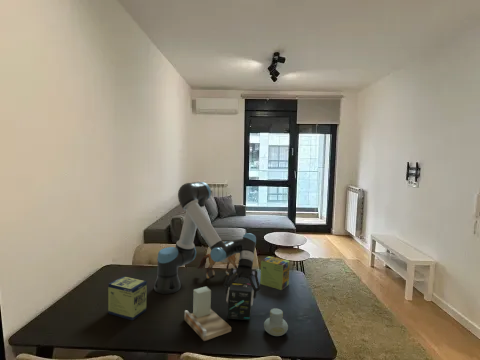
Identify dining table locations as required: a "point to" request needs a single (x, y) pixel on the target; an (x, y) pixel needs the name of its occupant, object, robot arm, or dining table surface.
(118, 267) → the dining table surface
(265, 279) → the protein box
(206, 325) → the pale wooden board
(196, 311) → the sage carton
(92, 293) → the dining table surface
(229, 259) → the horse figurine
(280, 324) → the air freshener
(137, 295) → the protein box
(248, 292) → the tampon box
